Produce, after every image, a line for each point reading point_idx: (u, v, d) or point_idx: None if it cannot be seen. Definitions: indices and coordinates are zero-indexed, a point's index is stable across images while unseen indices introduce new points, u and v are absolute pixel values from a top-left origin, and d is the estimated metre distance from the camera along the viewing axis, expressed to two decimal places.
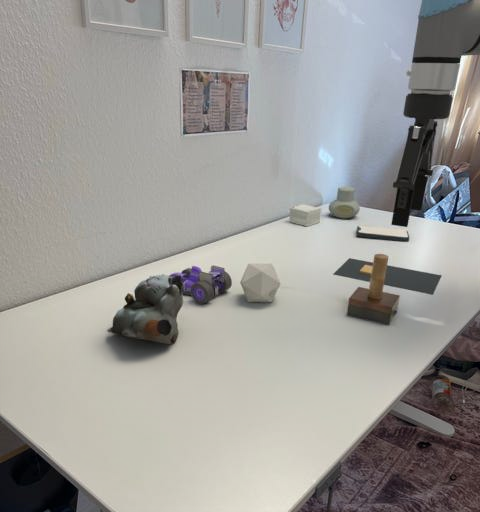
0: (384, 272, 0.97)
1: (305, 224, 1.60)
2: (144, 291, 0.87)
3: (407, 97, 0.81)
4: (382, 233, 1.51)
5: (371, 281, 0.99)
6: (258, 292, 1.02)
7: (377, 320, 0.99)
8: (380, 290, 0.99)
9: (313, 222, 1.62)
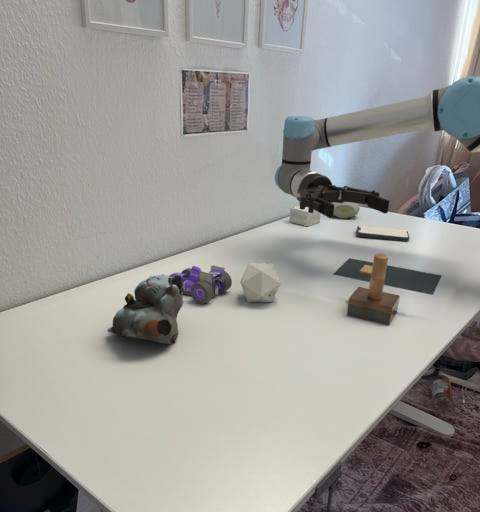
0: (384, 272, 0.97)
1: (305, 224, 1.60)
2: (144, 291, 0.87)
3: None
4: (382, 233, 1.51)
5: (371, 281, 0.99)
6: (258, 292, 1.02)
7: (377, 320, 0.99)
8: (380, 290, 0.99)
9: (313, 222, 1.62)
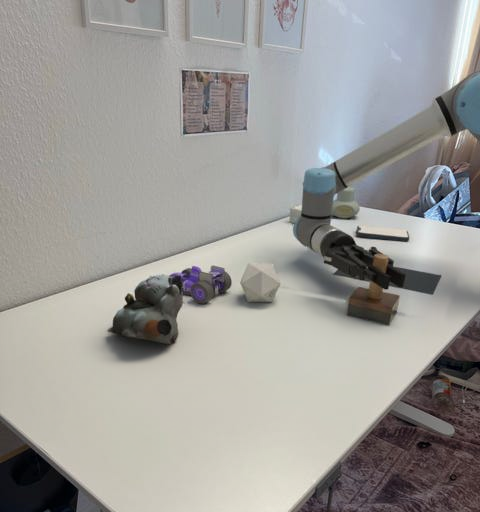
0: (384, 272, 0.97)
1: None
2: (144, 291, 0.87)
3: None
4: (382, 233, 1.51)
5: (371, 281, 0.99)
6: (258, 292, 1.02)
7: (377, 320, 0.99)
8: (380, 290, 0.99)
9: None
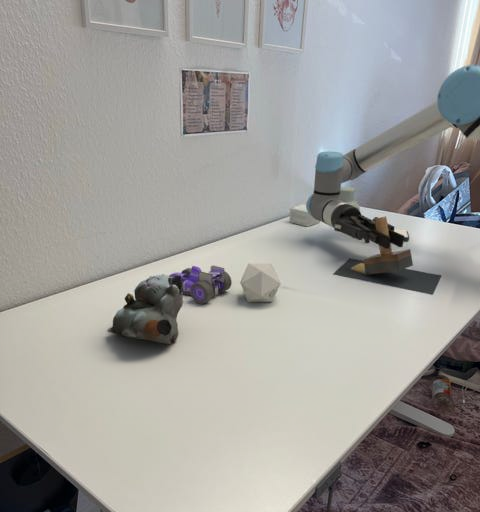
0: (385, 229, 1.15)
1: (305, 224, 1.60)
2: (144, 291, 0.87)
3: None
4: None
5: None
6: (258, 292, 1.02)
7: (389, 270, 1.14)
8: None
9: (313, 222, 1.62)
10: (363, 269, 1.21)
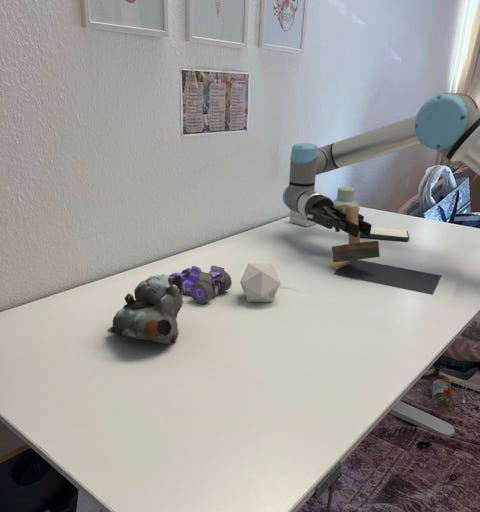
0: (354, 219, 1.17)
1: (305, 224, 1.60)
2: (144, 291, 0.87)
3: None
4: (382, 233, 1.51)
5: None
6: (258, 292, 1.02)
7: (353, 258, 1.16)
8: None
9: (313, 222, 1.62)
10: (334, 264, 1.25)
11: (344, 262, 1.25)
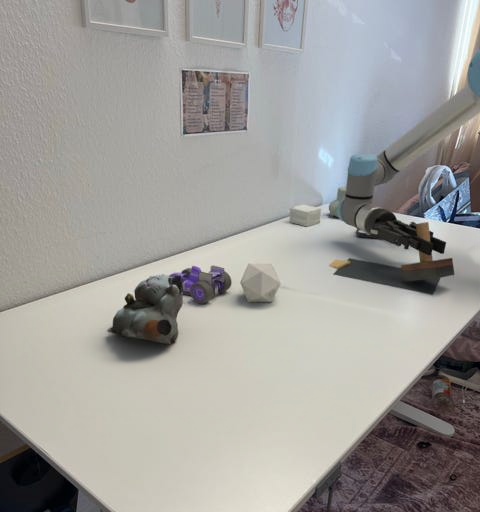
0: (426, 235, 1.11)
1: (305, 224, 1.60)
2: (144, 291, 0.87)
3: None
4: None
5: None
6: (258, 292, 1.02)
7: (427, 277, 1.09)
8: None
9: (313, 222, 1.62)
10: (334, 264, 1.25)
11: (344, 262, 1.25)
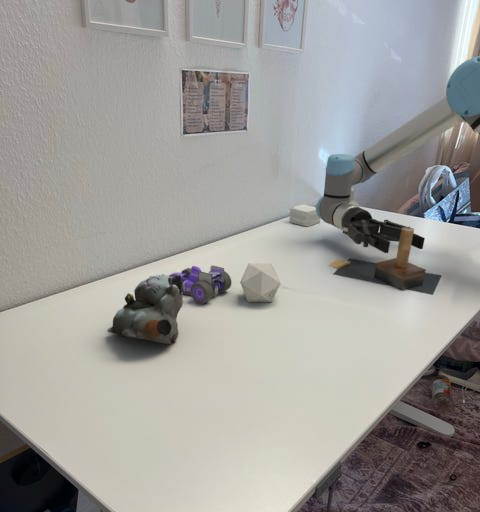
0: (407, 244, 1.11)
1: (305, 224, 1.60)
2: (144, 291, 0.87)
3: None
4: None
5: (397, 251, 1.13)
6: (258, 292, 1.02)
7: (394, 285, 1.13)
8: (403, 260, 1.12)
9: (313, 222, 1.62)
10: (334, 264, 1.25)
11: (344, 262, 1.25)
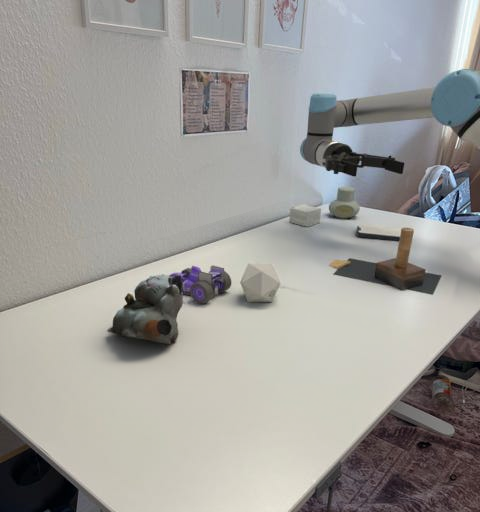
0: (407, 244, 1.11)
1: (305, 224, 1.60)
2: (144, 291, 0.87)
3: None
4: (382, 233, 1.51)
5: (397, 251, 1.13)
6: (258, 292, 1.02)
7: (394, 285, 1.13)
8: (403, 260, 1.12)
9: (313, 222, 1.62)
10: (334, 264, 1.25)
11: (344, 262, 1.25)
